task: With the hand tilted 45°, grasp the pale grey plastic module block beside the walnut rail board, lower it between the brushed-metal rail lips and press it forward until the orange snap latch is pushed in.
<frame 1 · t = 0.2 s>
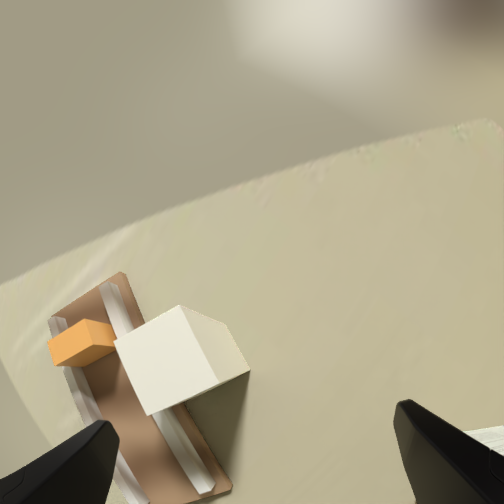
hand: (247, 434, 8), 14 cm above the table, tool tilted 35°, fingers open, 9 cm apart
snap latch: (84, 345, 21), point 3 cm above the table, slide at 0.0 cm
small box: (462, 461, 17), on the table
rail board: (129, 400, 22), on the table
module: (214, 358, 22), on the table
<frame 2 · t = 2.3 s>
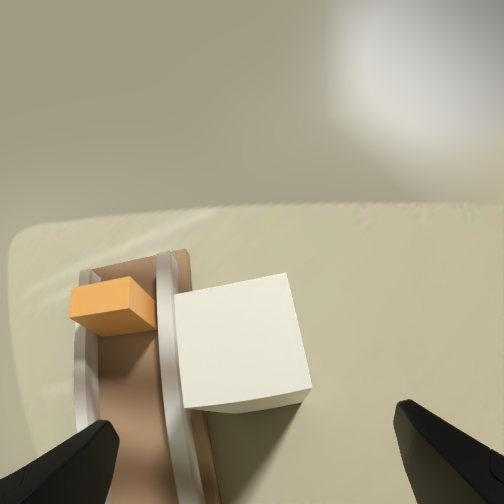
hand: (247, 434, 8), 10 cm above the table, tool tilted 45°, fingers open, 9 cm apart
snap latch: (114, 309, 18), point 3 cm above the table, slide at 0.0 cm
rail board: (139, 393, 18), on the table
module: (264, 378, 18), on the table
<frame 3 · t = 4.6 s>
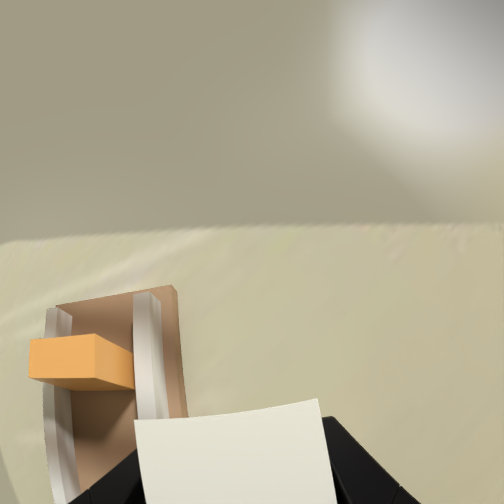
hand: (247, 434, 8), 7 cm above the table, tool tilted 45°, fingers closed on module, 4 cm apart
snap latch: (82, 366, 13), point 3 cm above the table, slide at 0.0 cm
rail board: (121, 457, 13), on the table
module: (269, 450, 13), on the table, touching gripper
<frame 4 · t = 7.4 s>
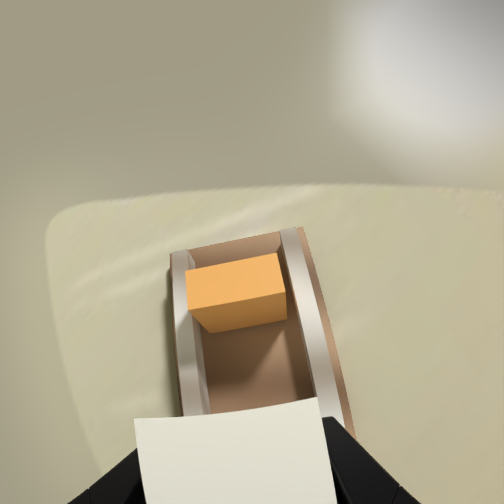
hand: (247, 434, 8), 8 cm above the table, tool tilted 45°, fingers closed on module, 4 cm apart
snap latch: (239, 297, 16), point 3 cm above the table, slide at 0.0 cm
rail board: (262, 398, 16), on the table
module: (269, 450, 13), point 1 cm above the table, touching gripper
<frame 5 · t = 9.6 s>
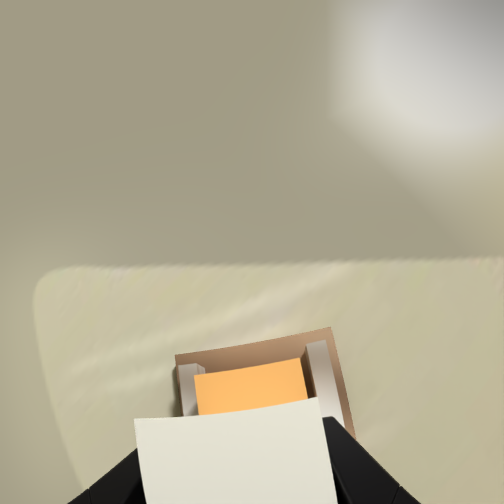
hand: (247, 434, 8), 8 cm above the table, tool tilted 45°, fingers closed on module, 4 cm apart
snap latch: (255, 394, 13), point 3 cm above the table, slide at 1.9 cm
module: (268, 450, 13), point 1 cm above the table, touching gripper
when the fingers open (8 cm above the table, at t = 10.7 s): module stays where it is, resting on rail board.
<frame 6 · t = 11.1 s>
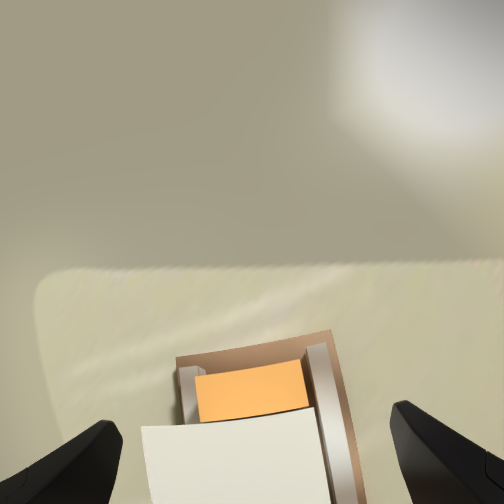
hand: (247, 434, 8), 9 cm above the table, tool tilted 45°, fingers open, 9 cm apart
snap latch: (255, 395, 13), point 3 cm above the table, slide at 2.0 cm
module: (269, 452, 14), point 1 cm above the table, touching rail board
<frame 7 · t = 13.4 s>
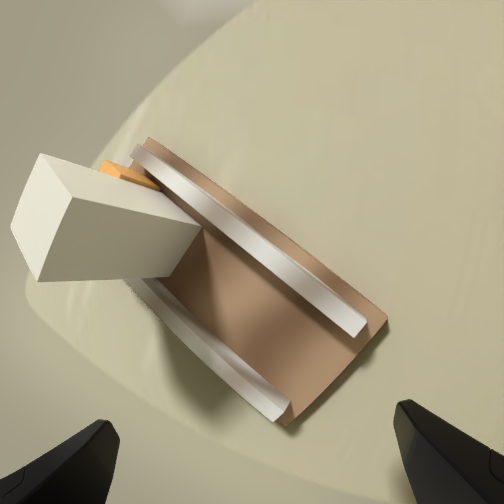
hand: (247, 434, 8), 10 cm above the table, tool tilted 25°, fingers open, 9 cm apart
snap latch: (117, 202, 19), point 3 cm above the table, slide at 2.0 cm
rail board: (213, 269, 20), on the table
module: (165, 233, 20), point 1 cm above the table, touching rail board
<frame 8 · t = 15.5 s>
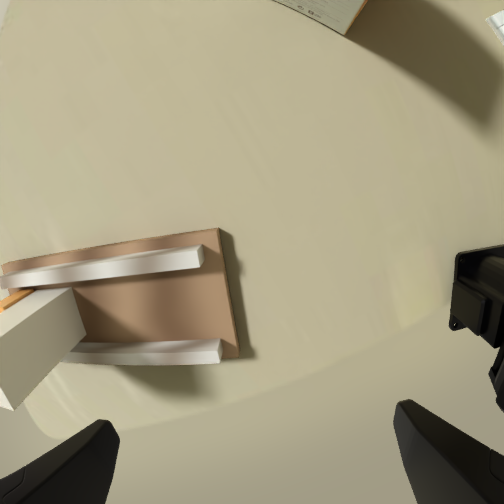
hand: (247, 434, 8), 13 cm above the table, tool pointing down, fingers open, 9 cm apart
snap latch: (20, 323, 19), point 3 cm above the table, slide at 2.0 cm
rail board: (102, 304, 21), on the table
module: (60, 311, 21), point 1 cm above the table, touching rail board
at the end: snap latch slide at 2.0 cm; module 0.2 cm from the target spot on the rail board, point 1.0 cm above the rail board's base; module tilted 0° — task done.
